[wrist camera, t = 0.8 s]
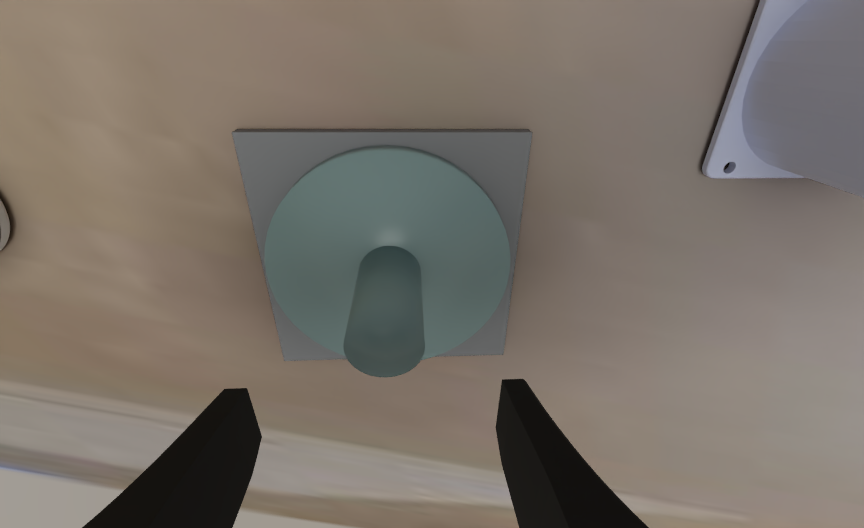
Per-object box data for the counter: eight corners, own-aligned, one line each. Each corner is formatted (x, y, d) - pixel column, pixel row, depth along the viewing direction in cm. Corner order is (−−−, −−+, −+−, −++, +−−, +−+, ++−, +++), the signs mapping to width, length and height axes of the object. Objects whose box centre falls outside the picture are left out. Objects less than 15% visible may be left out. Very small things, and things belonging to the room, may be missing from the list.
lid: (518, 144, 16) (569, 194, 11) (495, 347, 22) (522, 444, 17) (247, 145, 16) (169, 197, 11) (292, 353, 21) (254, 454, 16)
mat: (528, 129, 17) (532, 132, 16) (501, 347, 23) (503, 354, 22) (237, 129, 16) (231, 132, 16) (287, 353, 22) (284, 360, 22)
